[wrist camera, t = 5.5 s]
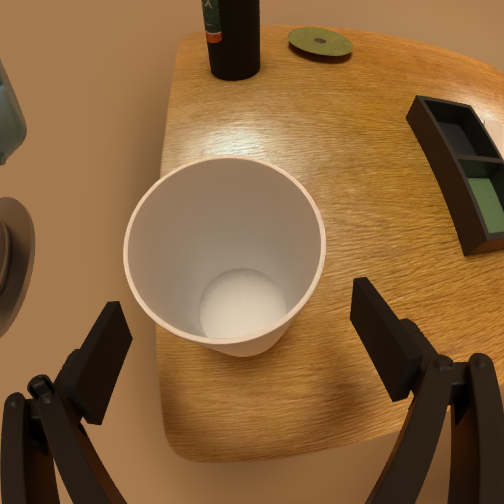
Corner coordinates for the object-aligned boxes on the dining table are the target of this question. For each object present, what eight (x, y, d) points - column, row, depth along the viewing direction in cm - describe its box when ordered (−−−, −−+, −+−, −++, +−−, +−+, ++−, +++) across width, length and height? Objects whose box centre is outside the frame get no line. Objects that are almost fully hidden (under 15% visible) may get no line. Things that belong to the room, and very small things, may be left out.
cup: (178, 308, 27) (90, 236, 12) (244, 250, 29) (230, 127, 14) (240, 375, 24) (212, 392, 9) (307, 311, 26) (367, 239, 11)
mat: (344, 39, 44) (346, 31, 42) (356, 68, 40) (359, 59, 38) (286, 33, 44) (286, 24, 43) (289, 61, 40) (289, 51, 38)
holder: (464, 256, 28) (487, 240, 23) (405, 117, 36) (416, 94, 31) (515, 247, 28) (535, 233, 24) (458, 124, 36) (470, 105, 31)
